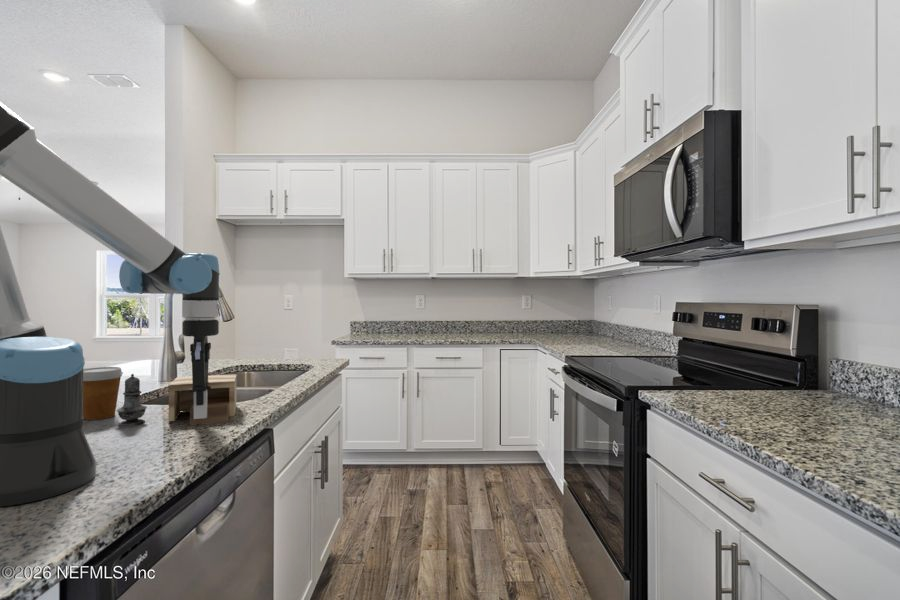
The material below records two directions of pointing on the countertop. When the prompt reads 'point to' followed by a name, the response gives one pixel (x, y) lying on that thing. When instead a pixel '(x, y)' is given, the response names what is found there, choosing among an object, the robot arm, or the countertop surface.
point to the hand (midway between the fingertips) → (200, 417)
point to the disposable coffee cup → (100, 392)
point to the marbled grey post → (131, 404)
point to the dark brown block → (213, 411)
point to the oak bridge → (219, 388)
